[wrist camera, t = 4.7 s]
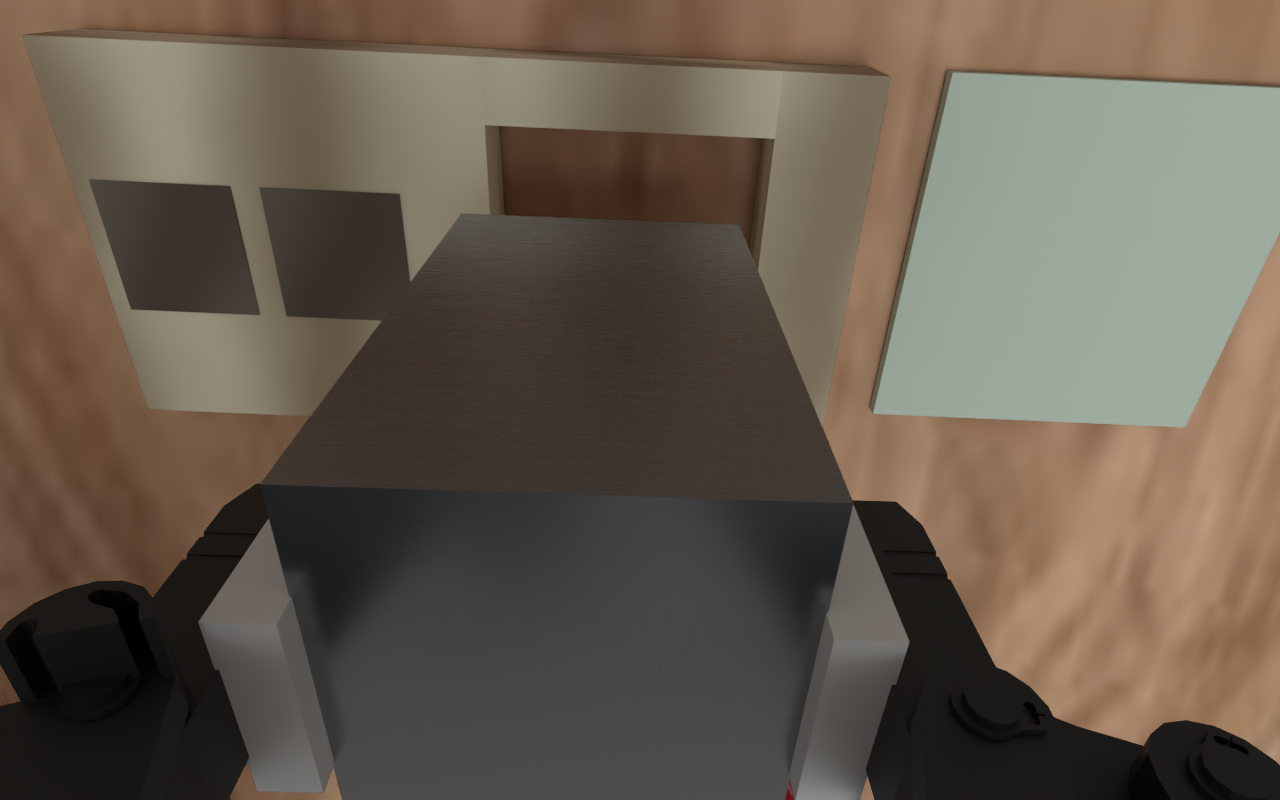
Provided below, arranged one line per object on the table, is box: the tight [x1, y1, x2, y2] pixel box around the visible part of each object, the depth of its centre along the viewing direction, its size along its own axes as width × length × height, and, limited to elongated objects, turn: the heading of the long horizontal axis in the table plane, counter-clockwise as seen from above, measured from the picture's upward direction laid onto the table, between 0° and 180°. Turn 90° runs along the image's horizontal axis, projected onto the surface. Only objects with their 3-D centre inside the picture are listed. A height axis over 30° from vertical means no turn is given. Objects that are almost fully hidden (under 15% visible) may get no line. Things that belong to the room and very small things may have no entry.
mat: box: [870, 71, 1280, 427], centre depth 21 cm, size 10×10×1 cm
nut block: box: [260, 213, 853, 800], centre depth 12 cm, size 6×6×9 cm
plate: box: [22, 29, 891, 427], centre depth 20 cm, size 20×10×2 cm, turn 88°
